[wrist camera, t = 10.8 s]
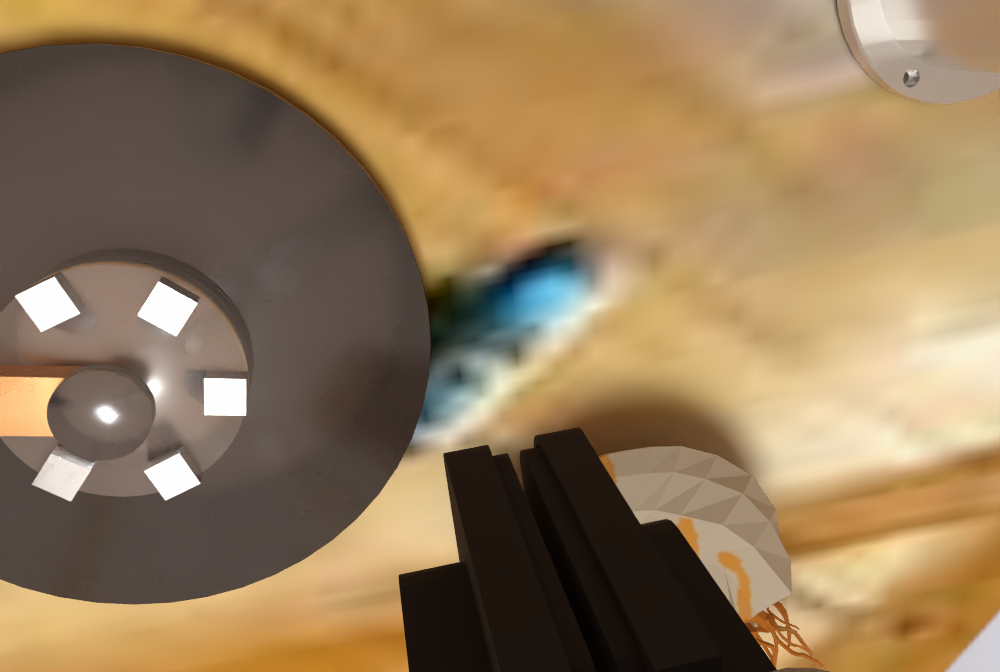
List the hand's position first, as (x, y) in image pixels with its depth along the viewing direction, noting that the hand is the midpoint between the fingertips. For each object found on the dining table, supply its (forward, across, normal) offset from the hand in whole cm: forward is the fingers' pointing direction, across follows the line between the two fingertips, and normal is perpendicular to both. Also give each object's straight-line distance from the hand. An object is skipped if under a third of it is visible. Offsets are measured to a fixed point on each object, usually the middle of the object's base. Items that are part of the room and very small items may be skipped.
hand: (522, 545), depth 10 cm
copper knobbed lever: (+27, +16, +5) cm, 32 cm away
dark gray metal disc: (+29, +12, +6) cm, 32 cm away
